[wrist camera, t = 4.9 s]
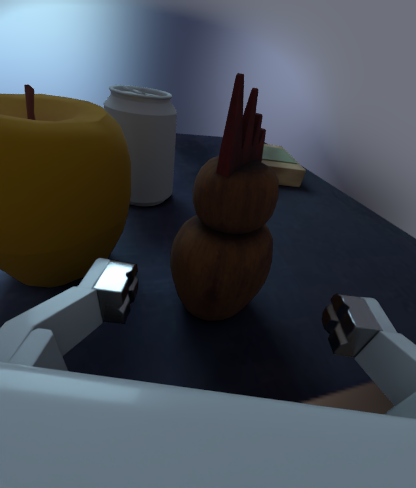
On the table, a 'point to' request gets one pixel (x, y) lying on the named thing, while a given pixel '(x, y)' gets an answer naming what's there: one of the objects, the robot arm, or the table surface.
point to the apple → (59, 187)
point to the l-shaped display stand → (283, 165)
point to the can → (146, 139)
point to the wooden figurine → (228, 220)
